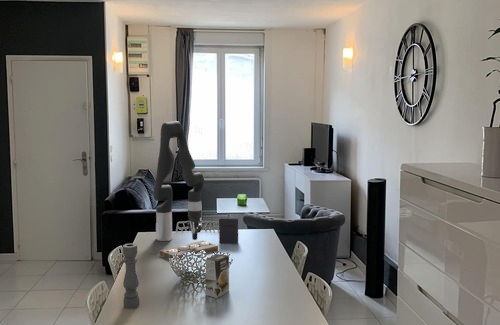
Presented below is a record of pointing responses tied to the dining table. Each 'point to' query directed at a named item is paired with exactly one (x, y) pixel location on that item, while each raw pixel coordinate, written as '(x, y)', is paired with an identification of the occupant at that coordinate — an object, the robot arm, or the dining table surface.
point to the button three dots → (194, 246)
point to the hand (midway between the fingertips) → (194, 239)
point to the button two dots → (173, 251)
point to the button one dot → (204, 244)
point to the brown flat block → (207, 249)
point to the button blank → (184, 248)
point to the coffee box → (217, 275)
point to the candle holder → (130, 277)
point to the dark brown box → (228, 230)
